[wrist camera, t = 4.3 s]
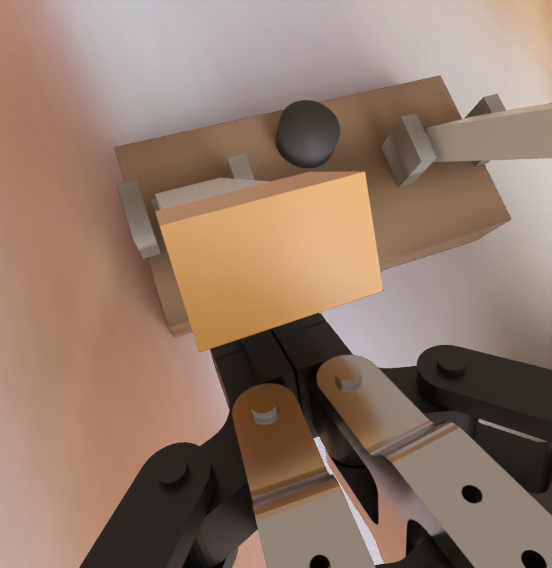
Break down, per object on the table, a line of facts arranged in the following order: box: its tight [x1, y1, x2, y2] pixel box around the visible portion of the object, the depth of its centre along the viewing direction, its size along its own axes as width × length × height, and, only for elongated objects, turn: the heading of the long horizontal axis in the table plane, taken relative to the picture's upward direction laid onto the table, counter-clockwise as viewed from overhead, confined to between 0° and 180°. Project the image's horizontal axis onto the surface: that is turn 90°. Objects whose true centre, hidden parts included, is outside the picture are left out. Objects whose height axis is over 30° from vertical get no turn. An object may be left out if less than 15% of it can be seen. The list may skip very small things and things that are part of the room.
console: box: [114, 75, 511, 337], centre depth 22 cm, size 9×18×6 cm, turn 109°
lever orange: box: [152, 172, 383, 352], centre depth 13 cm, size 2×3×13 cm, turn 109°
